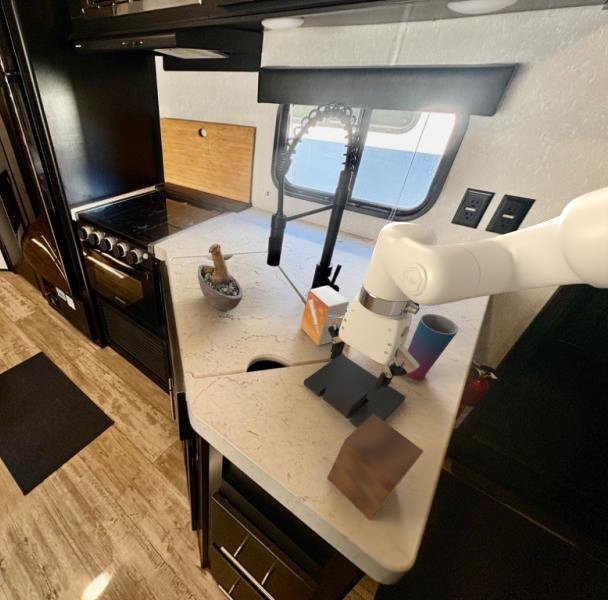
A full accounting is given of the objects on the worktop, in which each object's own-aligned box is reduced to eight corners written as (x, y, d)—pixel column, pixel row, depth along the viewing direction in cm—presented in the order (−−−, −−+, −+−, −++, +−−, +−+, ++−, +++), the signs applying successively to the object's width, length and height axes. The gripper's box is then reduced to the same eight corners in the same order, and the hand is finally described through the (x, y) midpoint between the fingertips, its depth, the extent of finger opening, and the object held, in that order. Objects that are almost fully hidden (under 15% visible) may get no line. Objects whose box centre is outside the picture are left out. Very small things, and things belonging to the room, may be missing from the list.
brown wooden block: (395, 488, 53) (423, 450, 46) (369, 520, 49) (396, 484, 42) (353, 451, 58) (373, 413, 51) (327, 477, 54) (344, 440, 47)
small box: (299, 327, 87) (308, 289, 80) (318, 322, 89) (328, 284, 82) (317, 346, 81) (328, 306, 74) (337, 340, 83) (350, 301, 76)
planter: (201, 286, 105) (200, 230, 93) (249, 295, 101) (255, 238, 89) (184, 311, 94) (181, 251, 82) (238, 323, 89) (243, 261, 78)
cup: (435, 378, 73) (466, 329, 64) (414, 386, 71) (443, 337, 62) (410, 358, 78) (435, 311, 69) (389, 365, 76) (413, 317, 67)
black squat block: (363, 403, 67) (368, 391, 65) (346, 418, 64) (351, 406, 62) (338, 385, 71) (343, 373, 69) (322, 398, 68) (326, 386, 66)
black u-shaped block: (403, 401, 67) (406, 396, 67) (368, 436, 61) (370, 432, 60) (339, 358, 78) (341, 353, 77) (303, 384, 71) (304, 379, 70)
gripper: (451, 315, 48) (411, 389, 57) (350, 272, 59) (330, 339, 69) (429, 334, 44) (390, 410, 54) (326, 284, 56) (309, 353, 65)
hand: (356, 370), depth 61 cm, fingers open, 9 cm apart
